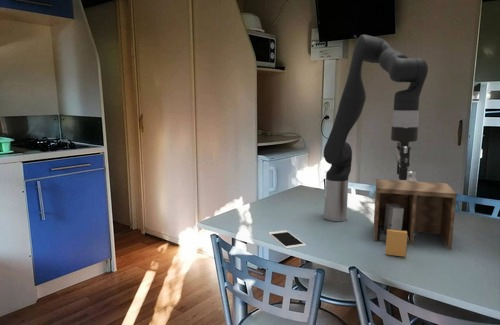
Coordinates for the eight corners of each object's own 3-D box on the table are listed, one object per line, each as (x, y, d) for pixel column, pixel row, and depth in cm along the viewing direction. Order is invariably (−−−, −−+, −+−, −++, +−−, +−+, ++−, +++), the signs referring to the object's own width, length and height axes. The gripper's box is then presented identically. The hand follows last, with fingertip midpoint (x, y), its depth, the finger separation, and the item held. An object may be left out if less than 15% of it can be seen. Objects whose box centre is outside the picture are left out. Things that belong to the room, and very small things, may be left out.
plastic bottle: (417, 218, 158) (421, 172, 155) (401, 217, 159) (404, 172, 156) (414, 213, 164) (417, 169, 161) (398, 212, 166) (401, 169, 162)
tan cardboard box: (380, 254, 120) (382, 230, 119) (379, 230, 143) (380, 209, 141) (410, 257, 117) (412, 233, 116) (404, 232, 140) (405, 211, 138)
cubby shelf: (373, 240, 132) (377, 188, 129) (373, 226, 147) (376, 179, 144) (451, 249, 125) (456, 193, 122) (442, 233, 140) (447, 183, 137)
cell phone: (286, 231, 143) (286, 230, 143) (306, 246, 128) (306, 245, 128) (267, 233, 140) (267, 232, 140) (286, 249, 125) (286, 248, 125)
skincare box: (382, 234, 139) (384, 203, 137) (394, 233, 139) (396, 203, 137) (390, 240, 133) (392, 208, 131) (402, 240, 133) (404, 207, 131)
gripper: (390, 123, 120) (387, 172, 123) (393, 126, 107) (390, 181, 110) (415, 124, 118) (411, 173, 121) (421, 127, 105) (417, 182, 107)
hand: (401, 177), depth 115 cm, fingers open, 8 cm apart
